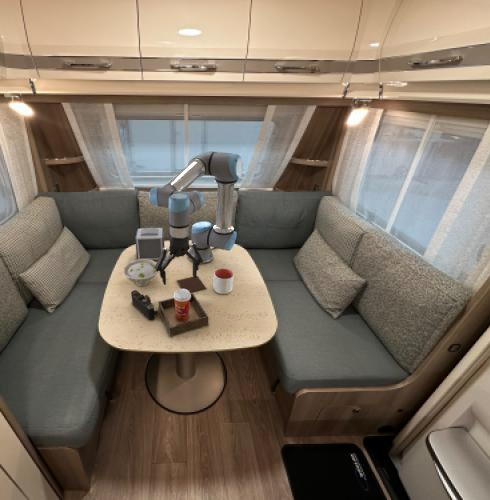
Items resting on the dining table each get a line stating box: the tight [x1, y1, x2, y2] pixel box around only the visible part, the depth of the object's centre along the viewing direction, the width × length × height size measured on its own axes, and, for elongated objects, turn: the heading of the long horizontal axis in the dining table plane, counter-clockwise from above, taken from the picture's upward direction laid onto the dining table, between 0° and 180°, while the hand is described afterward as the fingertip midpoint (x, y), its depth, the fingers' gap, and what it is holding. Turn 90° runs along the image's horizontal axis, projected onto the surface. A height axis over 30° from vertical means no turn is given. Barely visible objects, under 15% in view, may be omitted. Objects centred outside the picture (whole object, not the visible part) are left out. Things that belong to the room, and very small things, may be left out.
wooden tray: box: [157, 292, 209, 337], centre depth 121 cm, size 18×18×5 cm
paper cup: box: [172, 288, 191, 322], centre depth 119 cm, size 8×8×14 cm
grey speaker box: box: [134, 227, 167, 261], centre depth 165 cm, size 18×13×18 cm
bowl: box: [122, 259, 159, 287], centre depth 143 cm, size 19×19×10 cm
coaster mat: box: [177, 275, 207, 294], centre depth 144 cm, size 12×12×1 cm
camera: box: [130, 289, 159, 321], centre depth 125 cm, size 16×7×8 cm, turn 42°
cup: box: [212, 267, 235, 295], centre depth 138 cm, size 10×10×10 cm
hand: (179, 279), depth 113 cm, fingers open, 13 cm apart
